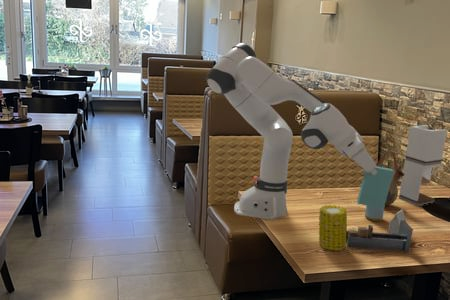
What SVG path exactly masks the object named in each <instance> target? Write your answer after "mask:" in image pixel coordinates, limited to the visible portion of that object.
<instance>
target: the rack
mask: <svg viewBox="0 0 450 300" xmlns="http://www.w3.org/2000/svg"><path fill="white" fill-rule="evenodd" d="M357 232H358V230H357ZM413 233H414V230H413V228H412V226H410V225H409V223H408V222H407V220H406V221H405V220H401V221H400V227H399V233H398V234H389V233H388V232H386V233H385V232H372V237H360V236H348V230H347V232H346V247H347V248H353V249H367V250H380V251H391V252H393V251H394V252H395V251H396V252H403V254H410V249H411V243H412V237H413ZM347 237H348V240H347Z"/></svg>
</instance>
